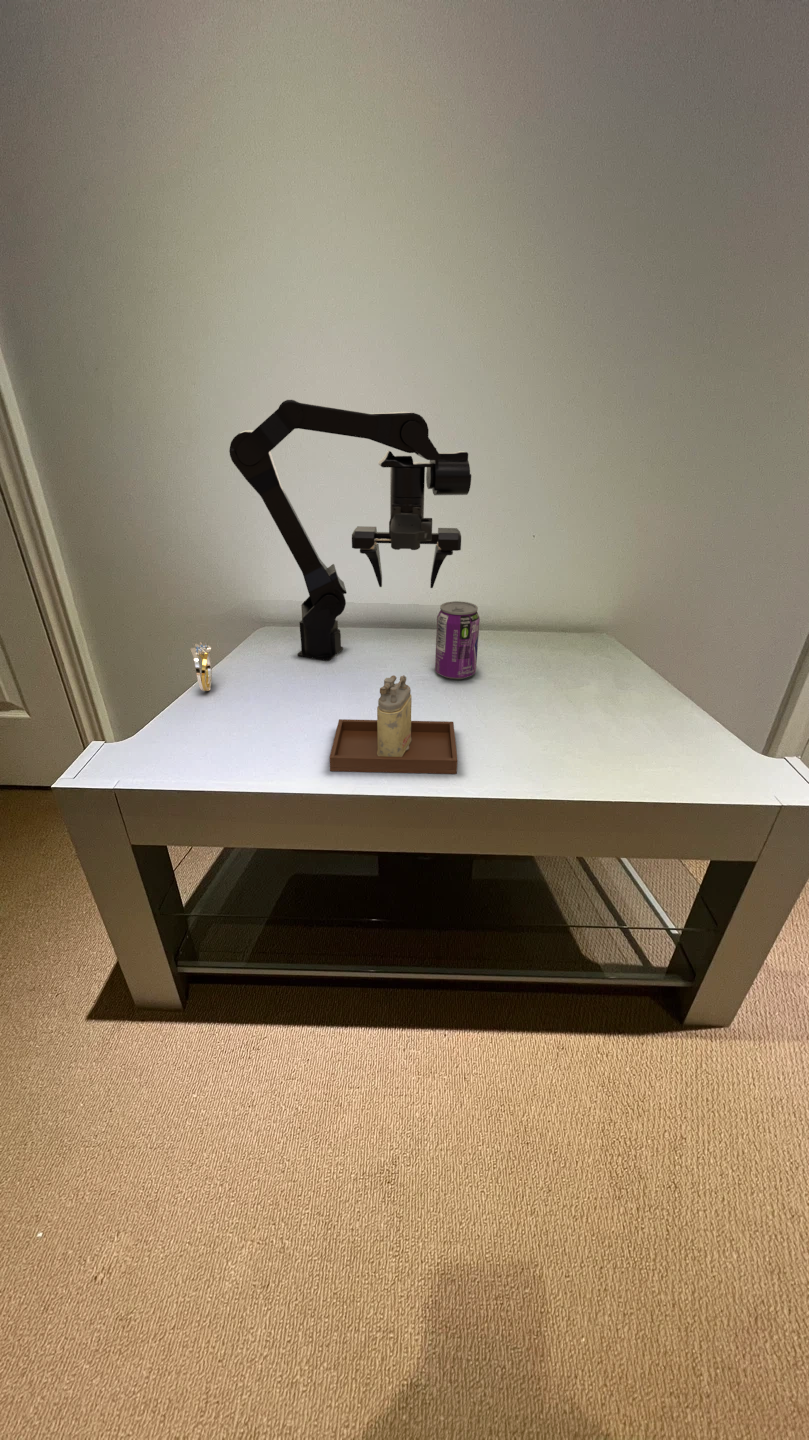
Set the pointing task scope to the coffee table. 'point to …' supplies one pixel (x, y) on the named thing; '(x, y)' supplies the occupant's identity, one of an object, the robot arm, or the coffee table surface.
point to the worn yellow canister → (394, 718)
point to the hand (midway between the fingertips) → (406, 587)
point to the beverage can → (457, 640)
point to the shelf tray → (425, 755)
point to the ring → (203, 665)
